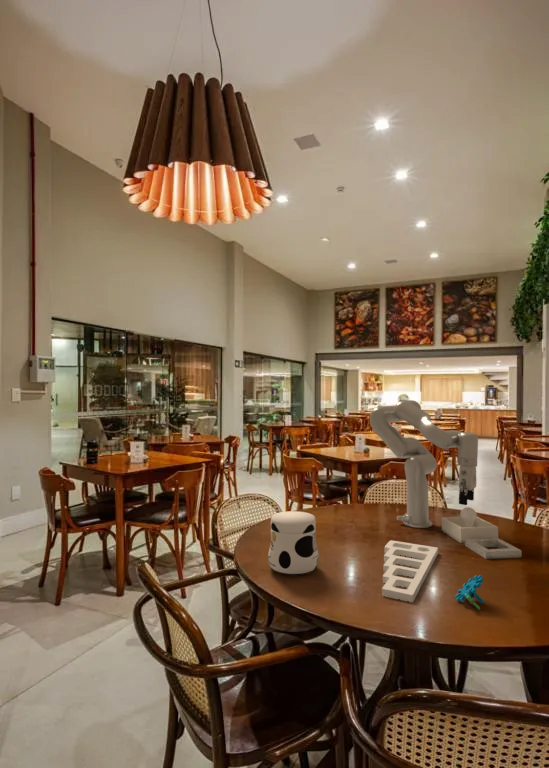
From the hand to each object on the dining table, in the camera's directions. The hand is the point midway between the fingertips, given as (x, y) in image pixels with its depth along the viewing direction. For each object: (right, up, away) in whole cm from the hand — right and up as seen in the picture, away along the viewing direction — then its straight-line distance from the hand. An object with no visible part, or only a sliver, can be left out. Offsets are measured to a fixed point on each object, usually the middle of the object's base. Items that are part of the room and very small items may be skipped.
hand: (466, 502), depth 189 cm
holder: (-38, -14, -36) cm, 55 cm away
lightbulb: (+1, -13, -1) cm, 13 cm away
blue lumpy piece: (-25, -13, -60) cm, 66 cm away
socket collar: (+2, -14, -19) cm, 24 cm away
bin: (+1, -14, -1) cm, 14 cm away
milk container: (-75, -14, -36) cm, 84 cm away
